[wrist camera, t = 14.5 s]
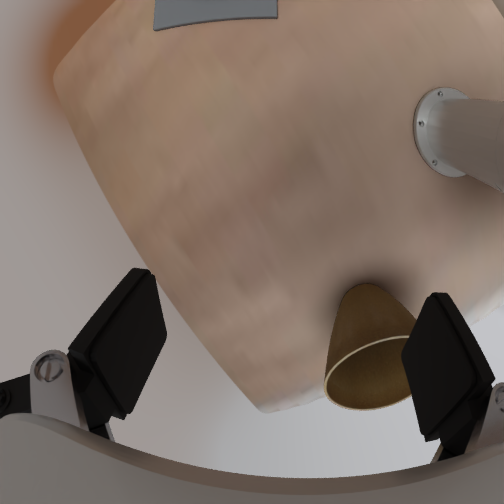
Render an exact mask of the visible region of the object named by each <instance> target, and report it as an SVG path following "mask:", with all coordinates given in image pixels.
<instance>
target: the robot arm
mask: <svg viewBox="0 0 504 504" xmlns="http://www.w3.org/2000/svg"><path fill="white" fill-rule="evenodd" d="M419 122H420V125H419ZM413 126H414V136H415V141H416V144H417V147H418V150H419V152H420V154H421V156H422V158H423V159H424V160H425V162H426V163H427V164H428V165H429V166H430V167H431V168H432V169H433V170H435V171H437V172H438V173H440V174H442V175H444V176H448V177H461V176H464V175H466V174H468V175H470V176H472V177H474V178H476V179H478V180H480V181H482V182H484V183H485V184H487V185H489V186H491V187H493V188H495V189H497V190H498V191H500V192H502V193H504V101H495V100H481V99H470V98H469V97H468V96H466V95H465V94H464V93H462V92H461V91H459V90H457V89H453V88H436V89H434V90H431V91H429V92H428V93H427V94H426V95H424V97H423V98H422V99H421V100H420V102H419V104H418V106H417V108H416V112H415V115H414V123H413ZM432 162H433V163H432ZM166 338H167V331H166V327H165V322H164V318H163V313H162V309H161V304H160V299H159V295H158V290H157V284H156V279H155V276H154V275H153V274H151V272H150V271H149V270H148V269H140V268H132V269H131V270H130V271H129V273H128V274H127V275H126V276H125V277H124V278H123V279H122V281H121V282H120V283H119V284H118V285H117V287H116V288H115V289H114V290H113V291H112V292H111V294H110V295H109V296H108V297H107V299H106V300H105V301H104V302H103V303H102V305H101V306H100V307H99V308H98V310H97V311H96V312H95V313H94V315H93V316H92V317H91V318H90V320H89V321H88V322H87V324H86V325H85V326H84V327H83V329H82V330H81V331H80V333H79V334H78V335H77V337H76V338H75V339H74V341H73V342H72V343H71V345H70V346H69V347H68V350H69V353H68V354H67V355H65V353H63V352H61V351H59V350H49V351H46V352H44V353H42V354H40V355H39V356H38V357H37V358H36V359H35V360H34V361H33V363H32V365H31V369H30V374H27V375H24V376H21V377H18V378H15V379H12V380H8V381H5V382H2V383H0V504H504V383H499V384H496V385H495V386H494V387H493V388H492V385H491V384H492V383H493V381H494V380H495V377H494V374H493V372H492V370H491V368H490V366H489V364H488V362H487V360H486V358H485V356H484V354H483V352H482V350H481V348H480V347H479V345H478V343H477V341H476V339H475V337H474V335H473V334H472V332H471V330H470V328H469V327H468V325H467V323H466V322H465V320H464V318H463V316H462V315H461V313H460V312H459V310H458V308H457V307H456V305H455V304H454V302H453V300H452V299H451V297H450V296H449V295H448V293H438V292H434V293H432V294H431V295H430V296H429V297H427V298H426V300H425V303H424V305H423V307H422V310H421V312H420V314H419V316H418V319H417V321H416V323H415V325H414V327H413V329H412V331H411V333H410V335H409V338H408V340H407V342H406V343H405V345H404V347H403V349H402V352H401V360H402V363H403V367H404V370H405V373H406V377H407V380H408V384H409V388H410V391H411V395H412V399H413V403H414V407H415V410H416V415H417V419H418V424H419V428H420V432H421V434H422V435H424V437H425V442H428V441H433V440H437V439H439V438H440V441H441V444H440V446H439V448H438V450H437V452H436V453H435V456H434V457H433V459H432V461H431V463H430V464H427V465H423V466H418V467H413V468H409V469H404V470H399V471H392V472H386V473H379V474H372V475H363V476H353V477H339V478H280V477H265V476H254V475H245V474H238V473H231V472H224V471H218V470H213V469H207V468H202V467H197V466H193V465H189V464H184V463H180V462H176V461H172V460H169V459H165V458H161V457H158V456H155V455H151V454H148V453H145V452H142V451H139V450H136V449H133V448H130V447H127V446H124V445H121V444H119V443H116V442H115V440H114V437H113V434H112V432H111V429H110V426H109V420H110V418H111V416H114V417H116V418H119V419H122V420H124V419H125V417H126V415H127V414H130V413H131V412H132V411H133V409H134V407H135V405H136V403H137V400H138V398H139V396H140V394H141V392H142V389H143V387H144V385H145V383H146V381H147V379H148V376H149V375H150V372H151V370H152V368H153V366H154V364H155V362H156V360H157V358H158V356H159V354H160V351H161V349H162V347H163V345H164V343H165V341H166Z"/></svg>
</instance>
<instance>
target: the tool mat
mask: <svg viewBox="0 0 504 504" xmlns="http://www.w3.org/2000/svg"><path fill="white" fill-rule="evenodd" d="M238 19H277V0H155V11H154V25H153V30H154V31H159V30H164V29H169V28H174V27H179V26H185V25H191V24H198V23H205V22H214V21H224V20H238Z"/></svg>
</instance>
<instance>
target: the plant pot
mask: <svg viewBox="0 0 504 504" xmlns="http://www.w3.org/2000/svg"><path fill="white" fill-rule="evenodd" d="M416 321H417V320H416V319H415V318H414V317H413V315H412V314H411V313H410V312H409V311H408V310H407V309H406V308H405V307H404V306H403V305H402V304H401V303H400V302H398V301H397V300H396V299H395V298H394V297H392V296H391V295H390V294H388V293H387V292H386V291H384V290H383V289H381V288H379V287H378V286H376V285H373V284H361V285H358V286H356V287H354V288H352V289H351V290H349V291H348V292H347V293H346V294H345V296H344V297H343V300H342V302H341V305H340V307H339V310H338V313H337V316H336V319H335V323H334V327H333V331H332V335H331V340H330V345H329V351H328V356H327V364H326V372H325V380H324V392H325V395H326V396H327V398H328V399H329V400H330V401H331V402H332V403H334V404H335V405H337V406H340V407H342V408H345V409H350V410H360V411H362V410H363V411H366V410H376V409H381V408H385V407H388V406H391V405H394V404H397V403H399V402H401V401H403V400H405V399H407V398H409V397H411V396H412V395H411V391H410V388H409V384H408V380H407V377H406V373H405V370H404V367H403V363H402V360H401V352H402V349H403V347H404V345H405V343H406V342H407V340H408V338H409V335H410V333H411V331H412V329H413V327H414V325H415V323H416Z"/></svg>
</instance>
